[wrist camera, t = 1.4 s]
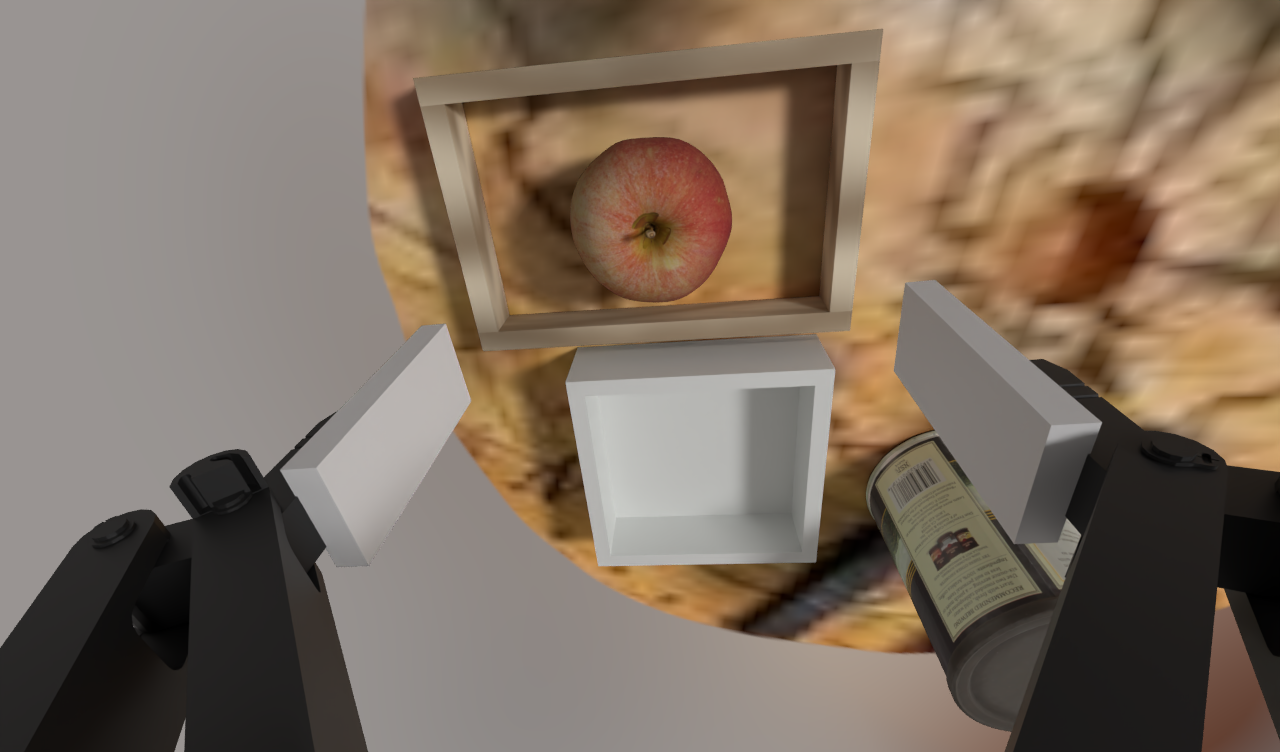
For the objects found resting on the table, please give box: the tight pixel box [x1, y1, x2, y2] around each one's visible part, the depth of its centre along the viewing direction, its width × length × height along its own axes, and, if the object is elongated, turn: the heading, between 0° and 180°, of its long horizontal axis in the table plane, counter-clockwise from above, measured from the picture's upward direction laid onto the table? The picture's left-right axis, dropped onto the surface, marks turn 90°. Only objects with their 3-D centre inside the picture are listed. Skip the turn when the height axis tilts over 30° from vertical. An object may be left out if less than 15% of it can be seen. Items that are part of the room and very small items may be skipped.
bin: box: [565, 334, 835, 566], centre depth 36 cm, size 15×15×4 cm
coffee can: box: [866, 431, 1081, 732], centre depth 32 cm, size 10×10×14 cm
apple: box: [570, 137, 732, 302], centre depth 27 cm, size 8×8×8 cm
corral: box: [413, 29, 883, 351], centre depth 29 cm, size 14×21×2 cm
